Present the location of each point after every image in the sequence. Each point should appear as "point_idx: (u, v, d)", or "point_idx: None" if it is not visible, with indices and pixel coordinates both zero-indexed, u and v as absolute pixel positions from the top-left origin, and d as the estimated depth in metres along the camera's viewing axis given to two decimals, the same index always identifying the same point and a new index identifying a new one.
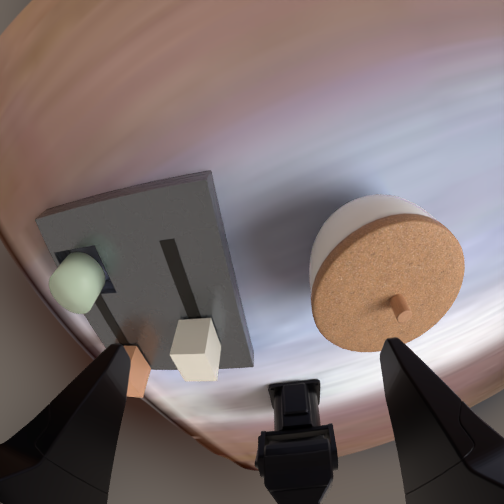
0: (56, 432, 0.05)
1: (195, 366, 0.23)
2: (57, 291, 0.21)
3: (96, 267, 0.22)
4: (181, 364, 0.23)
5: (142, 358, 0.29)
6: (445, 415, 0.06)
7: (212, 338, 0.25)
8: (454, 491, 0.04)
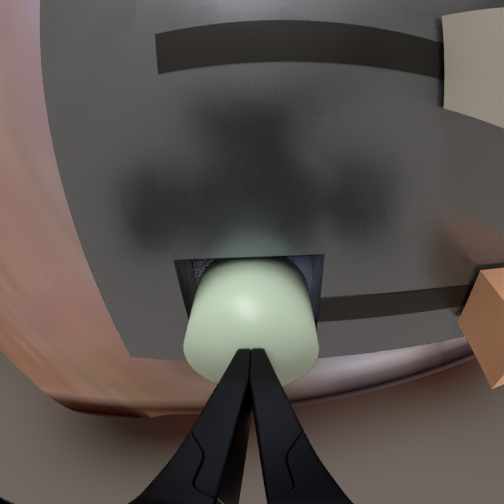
0: (220, 464, 0.05)
1: None
2: None
3: (228, 261, 0.10)
4: None
5: None
6: (277, 443, 0.06)
7: None
8: None
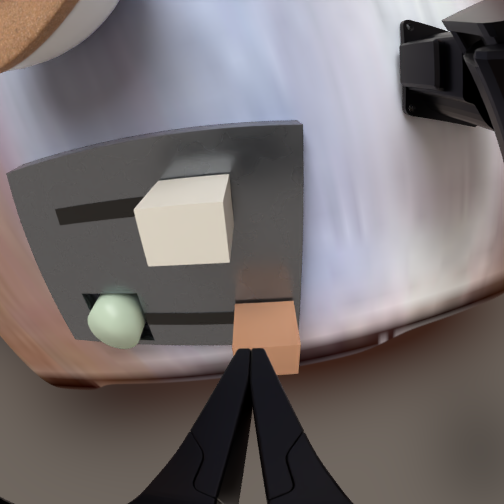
0: (220, 464, 0.05)
1: (173, 232, 0.13)
2: (113, 340, 0.21)
3: None
4: (172, 254, 0.14)
5: (261, 305, 0.20)
6: (277, 443, 0.06)
7: (173, 186, 0.15)
8: None
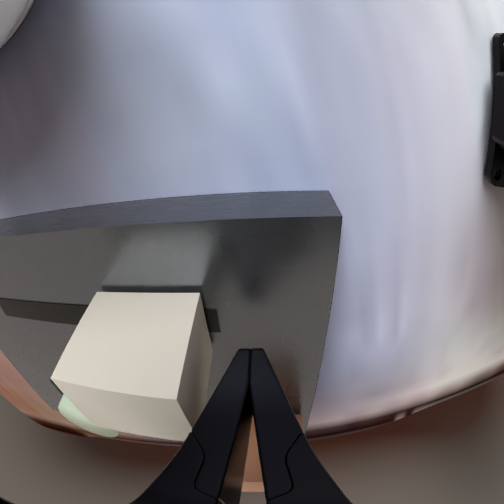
0: (221, 464, 0.05)
1: (113, 411, 0.07)
2: (90, 428, 0.15)
3: None
4: (120, 425, 0.08)
5: None
6: (275, 443, 0.06)
7: (111, 319, 0.09)
8: None
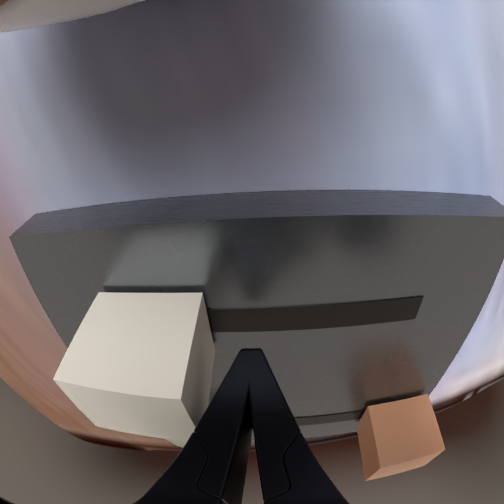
0: (224, 464, 0.05)
1: (116, 411, 0.07)
2: None
3: None
4: (123, 426, 0.08)
5: (397, 404, 0.14)
6: (274, 443, 0.06)
7: (113, 319, 0.09)
8: None
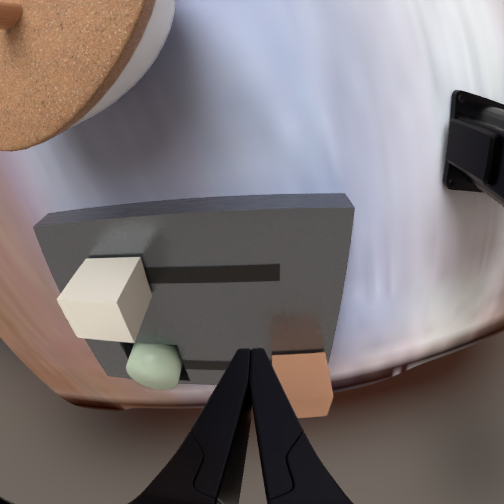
0: (220, 464, 0.05)
1: (88, 318, 0.14)
2: (151, 383, 0.22)
3: None
4: (91, 332, 0.15)
5: (297, 357, 0.21)
6: (277, 443, 0.06)
7: (92, 270, 0.16)
8: None
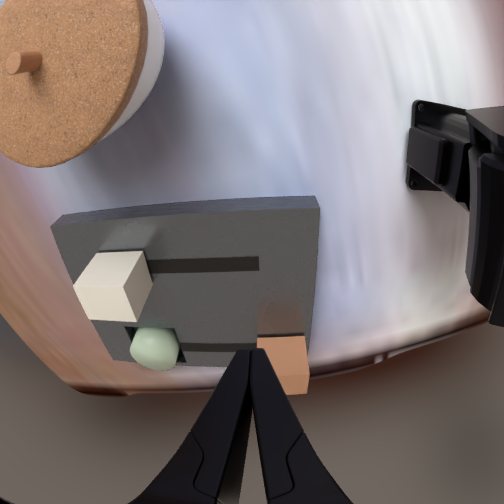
0: (220, 464, 0.05)
1: (98, 301, 0.18)
2: (152, 364, 0.26)
3: None
4: (101, 314, 0.18)
5: (279, 339, 0.24)
6: (276, 443, 0.06)
7: (102, 262, 0.19)
8: None
